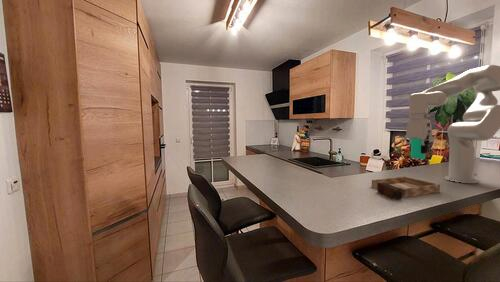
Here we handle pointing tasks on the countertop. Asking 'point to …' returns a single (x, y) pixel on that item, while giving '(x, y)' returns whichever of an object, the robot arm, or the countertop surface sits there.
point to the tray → (409, 185)
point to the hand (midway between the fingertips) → (418, 152)
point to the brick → (389, 190)
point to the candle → (417, 149)
